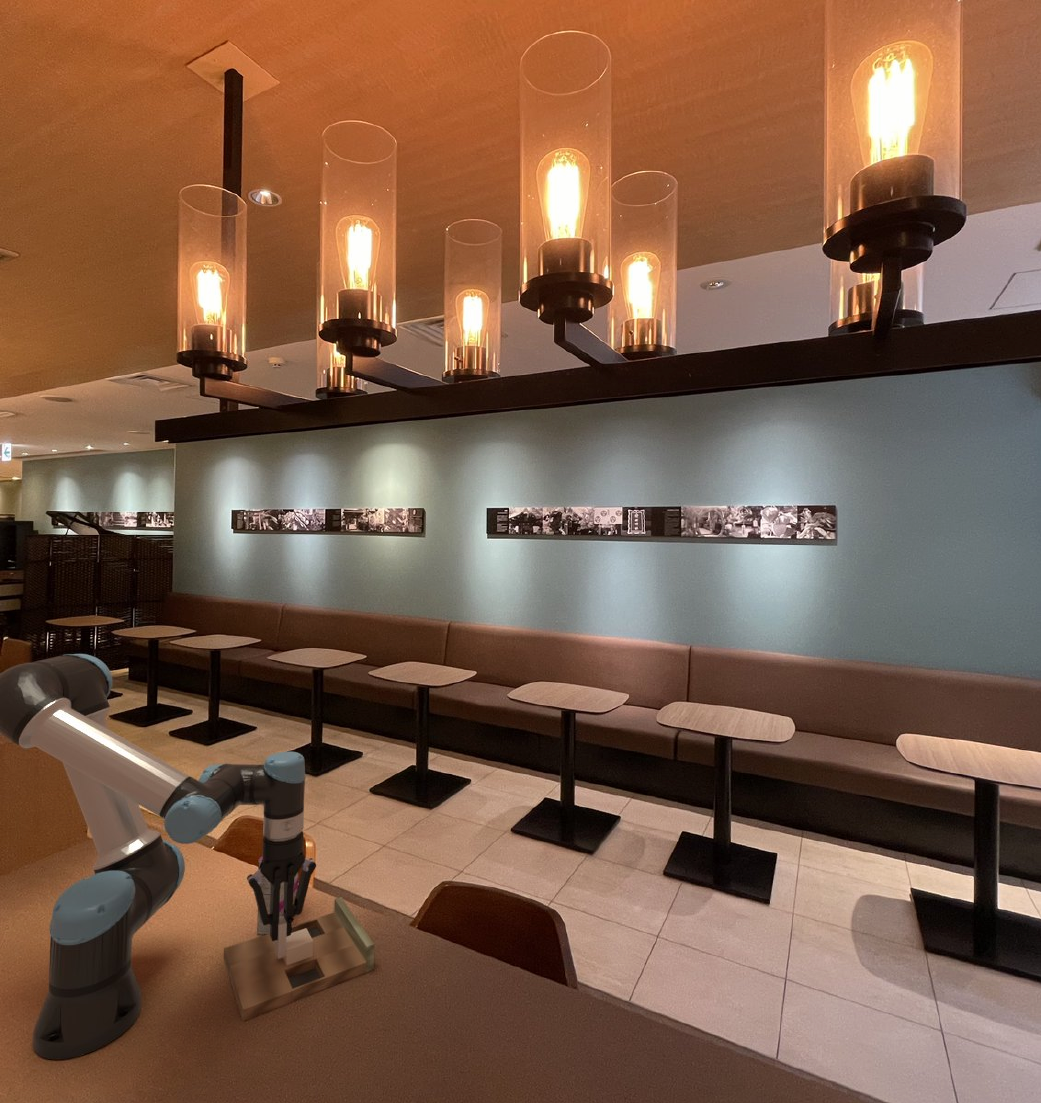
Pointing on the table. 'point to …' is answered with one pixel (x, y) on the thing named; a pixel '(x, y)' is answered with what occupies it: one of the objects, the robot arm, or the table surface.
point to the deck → (299, 963)
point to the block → (298, 946)
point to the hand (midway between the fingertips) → (280, 953)
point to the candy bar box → (266, 893)
